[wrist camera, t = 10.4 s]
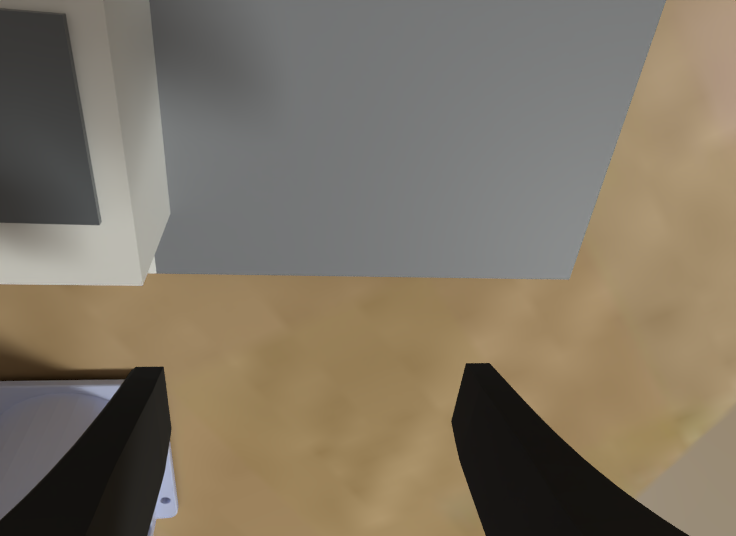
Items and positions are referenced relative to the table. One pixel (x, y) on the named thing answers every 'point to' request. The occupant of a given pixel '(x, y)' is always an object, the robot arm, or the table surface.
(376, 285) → the table surface
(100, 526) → the robot arm
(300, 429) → the table surface
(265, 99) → the board
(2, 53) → the block
